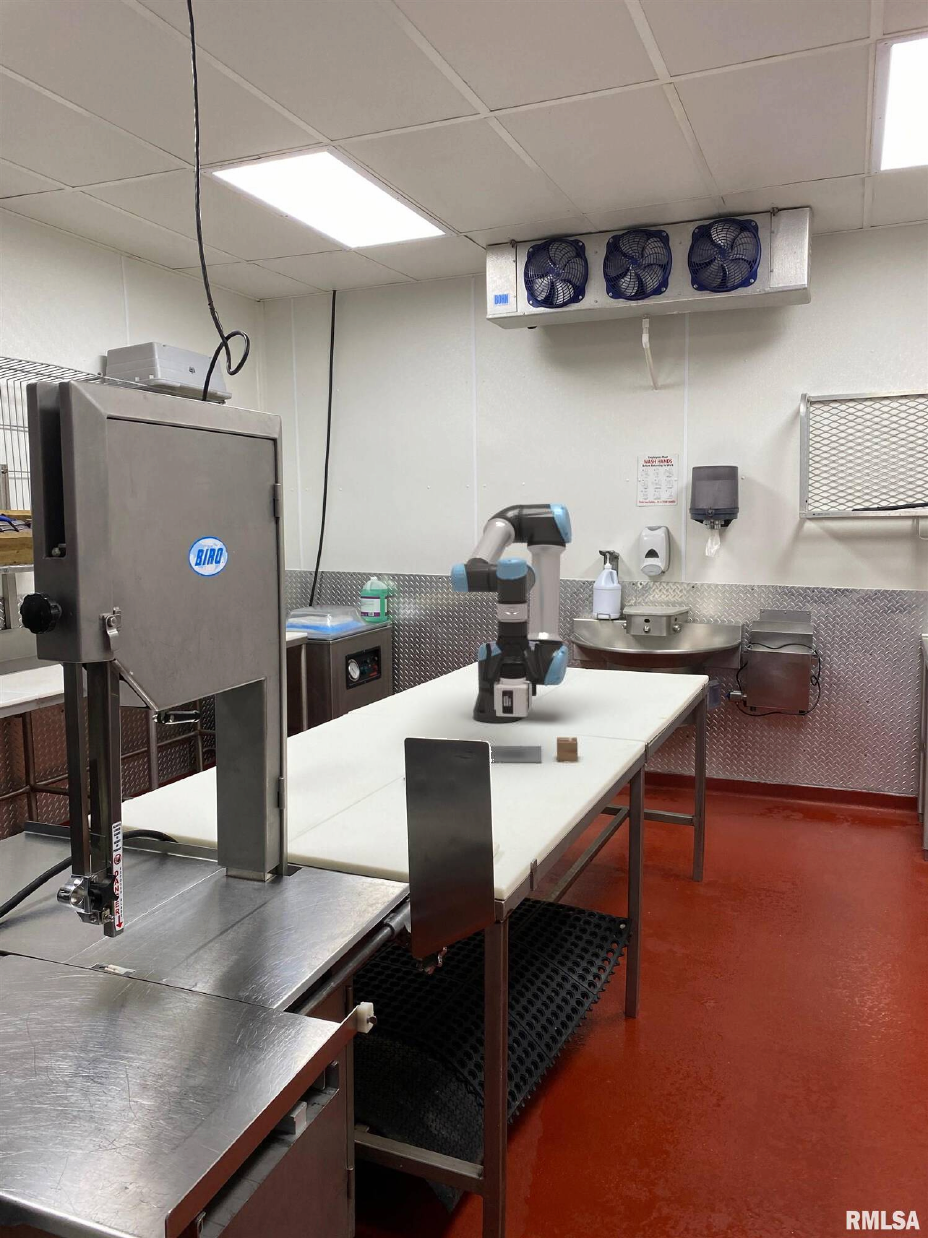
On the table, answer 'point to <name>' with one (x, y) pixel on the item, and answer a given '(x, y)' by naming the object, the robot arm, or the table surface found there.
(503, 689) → the container
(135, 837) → the table surface
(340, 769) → the table surface
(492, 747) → the rubber mat
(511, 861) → the table surface
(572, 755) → the letter cube
